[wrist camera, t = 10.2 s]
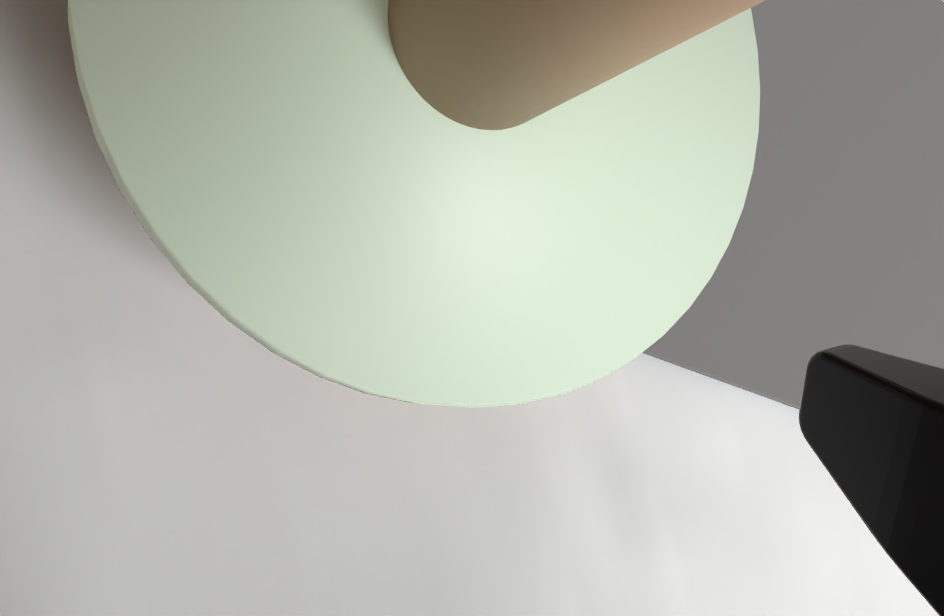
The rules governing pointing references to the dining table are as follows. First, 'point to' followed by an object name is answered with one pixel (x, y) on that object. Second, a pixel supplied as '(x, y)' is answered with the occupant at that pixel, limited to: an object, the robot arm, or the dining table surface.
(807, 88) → the mat
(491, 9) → the peg stand
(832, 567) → the dining table surface
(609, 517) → the dining table surface
